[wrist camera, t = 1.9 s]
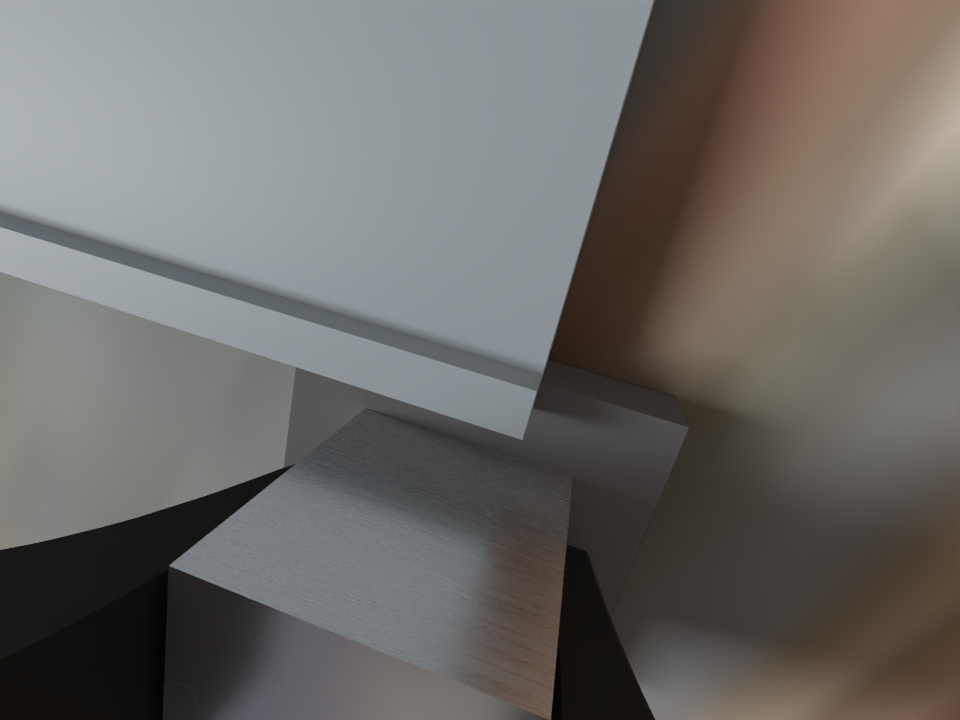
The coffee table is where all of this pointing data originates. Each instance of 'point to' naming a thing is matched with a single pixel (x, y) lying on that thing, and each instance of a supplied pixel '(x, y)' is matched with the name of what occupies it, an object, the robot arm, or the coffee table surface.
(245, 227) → the rail
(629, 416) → the pad
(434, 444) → the block
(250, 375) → the coffee table surface
